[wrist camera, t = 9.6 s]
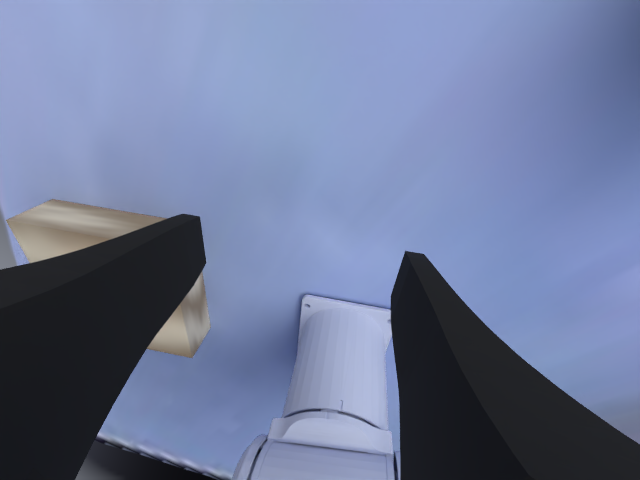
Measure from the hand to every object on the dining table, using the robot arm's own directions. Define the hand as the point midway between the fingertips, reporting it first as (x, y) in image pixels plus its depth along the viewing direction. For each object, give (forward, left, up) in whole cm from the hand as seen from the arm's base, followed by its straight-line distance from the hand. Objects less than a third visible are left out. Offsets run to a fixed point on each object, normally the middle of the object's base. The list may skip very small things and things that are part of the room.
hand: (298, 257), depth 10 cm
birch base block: (-12, +16, -10) cm, 23 cm away
